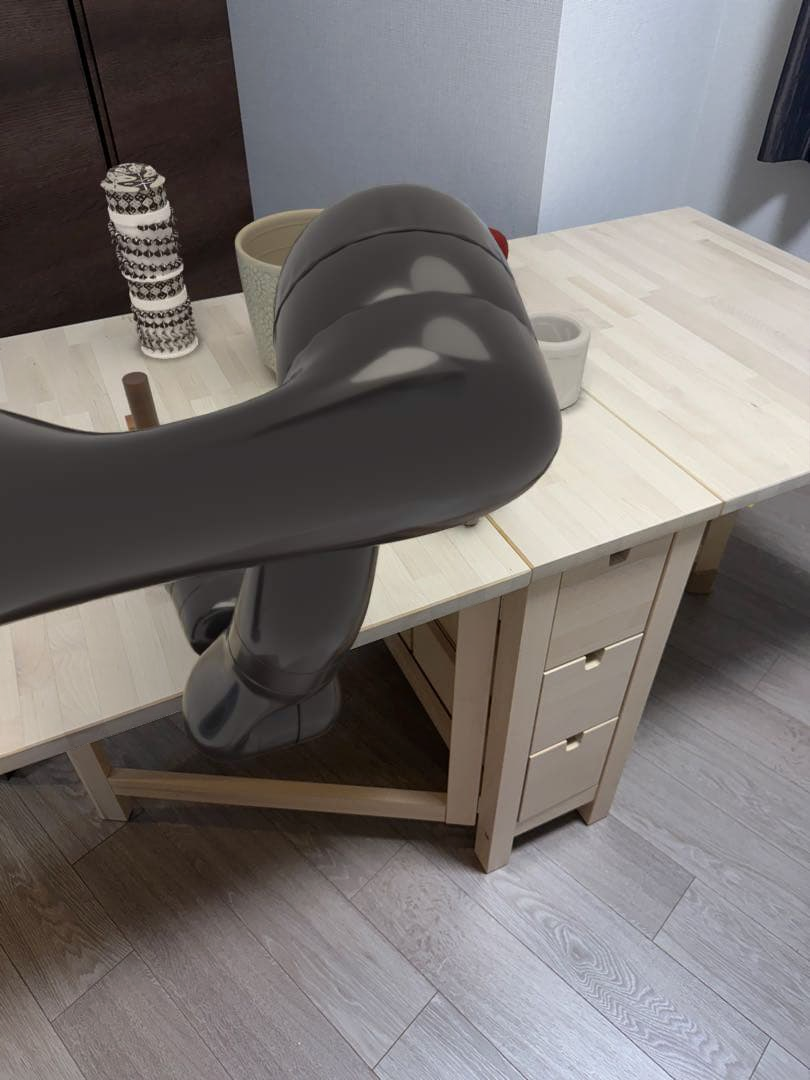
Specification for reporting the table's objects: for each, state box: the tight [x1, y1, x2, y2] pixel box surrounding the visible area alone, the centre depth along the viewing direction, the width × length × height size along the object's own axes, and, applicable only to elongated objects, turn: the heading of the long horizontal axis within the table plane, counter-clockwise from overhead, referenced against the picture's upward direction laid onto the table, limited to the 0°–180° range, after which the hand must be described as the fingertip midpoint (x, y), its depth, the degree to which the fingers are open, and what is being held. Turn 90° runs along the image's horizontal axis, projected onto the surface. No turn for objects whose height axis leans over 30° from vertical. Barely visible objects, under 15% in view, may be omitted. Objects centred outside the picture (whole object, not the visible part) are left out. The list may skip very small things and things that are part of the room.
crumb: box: [124, 413, 136, 431], centre depth 94 cm, size 3×3×3 cm
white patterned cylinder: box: [100, 162, 199, 360], centre depth 104 cm, size 9×9×25 cm
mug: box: [526, 309, 592, 411], centre depth 100 cm, size 14×11×10 cm
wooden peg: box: [121, 371, 161, 430], centre depth 83 cm, size 4×7×14 cm, turn 116°
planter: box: [234, 208, 325, 374], centre depth 102 cm, size 21×21×19 cm
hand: (157, 446), depth 72 cm, fingers open, 8 cm apart
